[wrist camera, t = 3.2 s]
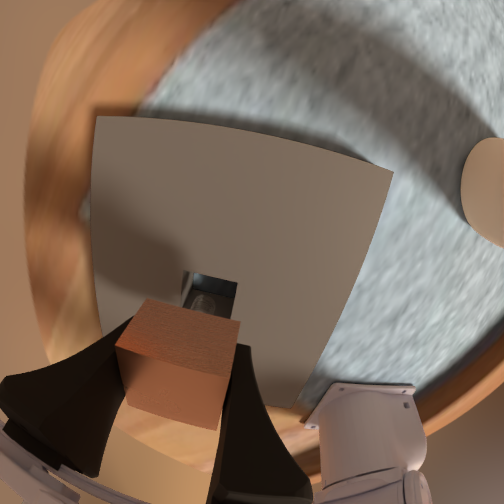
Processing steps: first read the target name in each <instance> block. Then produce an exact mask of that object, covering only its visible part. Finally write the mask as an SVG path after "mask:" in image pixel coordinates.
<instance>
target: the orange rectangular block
mask: <svg viewBox="0 0 504 504" xmlns="http://www.w3.org/2000/svg"><path fill="white" fill-rule="evenodd" d="M215 307H216V304H215V301H214V300H213V299H212V298H211V297H209V296H207V295H199V296H197V297H196V298H195V300H194V302H193V304H192V306H191V309H186V308H182V307H178V306H174V305H171V304H167V303H163V302H160V301H156V300H153V299H149V298H146V300H145V301H144V303H143V304H142V306H141V307H140V308H139V310H138V311H137V313H136V314H135V316H134V317H133V319H132V320H131V321H130V323H129V324H128V326H127V327H126V329H125V330H124V332H123V333H122V335H121V336H120V338H119V339H118V341H117V342H116V344H115V349H116V355H117V360H118V365H119V370H120V374H121V379H122V383H123V387H124V391H125V395H126V399H127V403H128V405H130V406H132V407H135V408H138V409H141V410H144V411H146V412H149V413H152V414H155V415H159V416H162V417H165V418H168V419H172V420H175V421H179V422H182V423H186V424H190V425H194V426H198V427H202V428H206V429H211V430H215V431H216V430H217V426H218V422H219V418H220V415H221V411H222V407H223V403H224V399H225V395H226V391H227V387H228V383H229V379H230V375H231V369H232V364H233V359H234V354H235V349H236V344H237V338H238V333H239V328H240V323H241V322H240V321H236V320H231V319H227V318H222V317H218V316H214V315H213V313H214V310H215Z"/></svg>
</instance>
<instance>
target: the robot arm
mask: <svg viewBox="0 0 504 504" xmlns="http://www.w3.org/2000/svg"><path fill="white" fill-rule="evenodd" d="M133 317H134V316H132V317H131V318H129V319H128V320H126V321H125V322H124V323H122V324H121V325H120V326H118V327H117V328H115V329H114V330H113V331H111V332H110V333H108V334H107V335H106V336H104V337H103V338H101V339H100V340H98V341H97V342H95V343H94V344H92V345H90V346H89V347H87V348H85V349H84V350H82V351H80V352H78V353H77V354H75V355H73V356H71V357H69V358H67V359H65V360H62V361H60V362H57V363H55V364H52V365H50V366H47V367H44V368H41V369H38V370H34V371H31V372H26V373H22V374H16V375H10V376H6V377H5V378H4V379H3V381H2V382H1V383H0V408H1V410H2V411H3V412H4V413H5V414H6V416H7V417H8V418H9V420H8V421H7V423H6V424H5V423H4V422H2V421H1V420H0V479H1V480H2V481H3V482H5V483H6V484H7V485H8V486H9V487H10V488H11V489H12V490H13V491H15V492H16V493H17V494H18V495H19V496H20V497H22V498H23V499H24V500H23V502H22V504H79V503H78V501H79V499H80V494H78V493H76V492H74V491H73V490H71V489H70V488H68V487H67V486H65V485H64V484H63V483H61V482H60V481H58V480H56V479H55V478H54V477H52V476H51V475H49V474H48V471H47V470H49V471H50V472H52V473H53V474H55V475H57V476H58V477H60V478H61V479H63V480H65V481H67V482H68V483H70V484H72V485H74V486H76V487H78V488H79V489H81V490H83V491H85V492H87V493H89V494H91V495H93V496H95V497H97V498H99V499H101V500H104V501H106V502H108V503H111V504H150V503H147V502H144V501H141V500H138V499H135V498H133V497H130V496H127V495H125V494H122V493H120V492H117V491H115V490H113V489H110V488H108V487H106V486H104V485H101V484H99V483H97V482H95V481H93V480H91V479H89V478H87V477H85V476H83V475H81V474H84V475H86V476H88V477H90V478H95V477H98V475H99V471H100V466H101V461H102V457H103V454H104V450H105V447H106V443H107V440H108V437H109V434H110V431H111V427H112V425H113V422H114V419H115V417H116V414H117V411H118V409H119V407H120V405H121V403H122V401H123V399H124V397H125V391H124V387H123V383H122V379H121V374H120V370H119V365H118V360H117V355H116V349H115V344H116V342H117V341H118V339H119V338H120V336H121V335H122V333H123V332H124V330H125V329H126V327H127V326H128V324H129V323H130V321H131V320H132V319H133ZM415 390H416V388H415V386H383V385H362V384H347V383H334V384H332V385H331V386H330V388H329V389H328V391H327V392H326V394H325V395H324V397H323V398H322V400H321V401H320V402H319V404H318V405H317V407H316V408H315V410H314V411H313V412H312V414H311V415H310V417H309V418H308V419H307V421H306V422H305V423H304V428H306V429H319V440H320V456H321V477H322V491H319V492H315V493H314V501H313V492H312V486H311V483H310V479H309V478H308V476H307V475H306V474H305V473H304V472H303V470H302V469H301V468H300V467H299V465H298V464H297V463H296V462H295V460H294V459H293V457H292V456H291V455H290V453H289V452H288V450H287V448H286V447H285V445H284V444H283V442H282V440H281V439H280V437H279V435H278V434H277V432H276V430H275V428H274V426H273V424H272V422H271V420H270V417H269V415H268V413H267V411H266V408H265V405H264V403H263V400H262V397H261V394H260V391H259V388H258V384H257V380H256V377H255V372H254V367H253V362H252V354H251V347H250V346H249V345H244V344H240V343H237V344H236V349H235V354H234V359H233V364H232V369H231V375H230V379H229V383H228V387H227V391H226V395H225V399H224V403H223V408H222V418H221V429H220V437H219V443H218V448H217V453H216V458H215V463H214V468H213V473H212V477H211V482H210V487H209V492H208V496H207V501H206V504H432V499H431V494H430V490H429V487H428V484H427V481H426V479H425V477H424V475H423V474H422V473H421V472H418V471H417V470H418V469H419V468H420V467H421V465H422V463H423V461H424V459H425V456H426V449H427V441H426V436H425V433H424V429H423V426H422V423H421V420H420V417H419V414H418V411H417V408H416V406H415V403H414V400H413V397H412V394H413V393H414V392H415ZM75 471H77V472H79V473H81V474H79V473H77V472H75Z"/></svg>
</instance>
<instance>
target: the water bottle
mask: <svg viewBox="0 0 504 504" xmlns="http://www.w3.org/2000/svg"><path fill="white" fill-rule="evenodd" d="M461 201H462V207H463V211H464V214H465V217H466V219H467V221H468V223H469V224H470V226H471V227H472V228H473V229H474V230H475V231H476V232H477V233H478V234H480V235H481V236H482V237H484V238H485V239H487V240H488V241H490V242H492V243H493V244H495V245H497V246H499V247H501V248H503V249H504V139H502V138H494V137H492V138H486V139H484V140H482V141H480V142H479V143H477V144H476V145H475V146H474V148H473V149H472V150H471V152H470V153H469V155H468V157H467V159H466V162H465V165H464V168H463V172H462V178H461Z"/></svg>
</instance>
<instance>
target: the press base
mask: <svg viewBox="0 0 504 504" xmlns="http://www.w3.org/2000/svg"><path fill="white" fill-rule="evenodd" d="M393 173H394V172H393V171H390V170H387V169H385V168H382V167H379V166H377V165H374V164H371V163H368V162H365V161H362V160H359V159H356V158H353V157H350V156H347V155H343V154H340V153H337V152H333V151H330V150H327V149H323V148H319V147H316V146H312V145H308V144H304V143H301V142H297V141H293V140H288V139H284V138H280V137H275V136H271V135H266V134H261V133H257V132H251V131H246V130H241V129H235V128H229V127H223V126H217V125H210V124H203V123H196V122H188V121H179V120H169V119H158V118H144V117H125V116H97V118H96V126H95V134H94V143H93V154H92V169H91V194H90V221H91V247H92V261H93V272H94V282H95V290H96V298H97V305H98V312H99V318H100V324H101V329H102V335H103V337H104V336H106V335H107V334H108V333H110V332H111V331H113V330H114V329H115V328H117V327H118V326H120V325H121V324H122V323H124V322H125V321H126V320H128V319H129V318H131V317H132V316H135V314H136V313H137V311H138V310H139V308H140V307H141V306H142V304H143V303H144V301H145V300H146V298H149V299H153V300H156V301H160V302H163V303H167V304H171V305H174V306H178V307H182V308H186V309H191V306H192V304H193V302H194V300H195V298H196V297H197V296H199V295H207V296H209V297H211V298H212V299H213V300H214V301H215V304H216V307H215V310H214V313H213V315H214V316H218V317H222V318H227V319H231V320H236V321H240V322H241V323H240V328H239V333H238V338H237V343H240V344H244V345H249V346H250V347H251V354H252V362H253V367H254V372H255V377H256V380H257V384H258V388H259V391H260V394H261V397H262V400H263V403H264V405H268V406H275V407H282V408H290V409H291V408H292V406H293V404H294V403H295V401H296V399H297V397H298V396H299V394H300V392H301V391H302V389H303V387H304V385H305V384H306V382H307V380H308V378H309V376H310V375H311V373H312V371H313V369H314V367H315V365H316V364H317V362H318V360H319V358H320V356H321V354H322V352H323V350H324V348H325V346H326V344H327V342H328V340H329V338H330V336H331V334H332V332H333V330H334V328H335V326H336V324H337V322H338V320H339V318H340V315H341V313H342V311H343V309H344V307H345V305H346V302H347V300H348V298H349V296H350V293H351V291H352V289H353V286H354V284H355V282H356V279H357V277H358V274H359V272H360V269H361V267H362V264H363V262H364V259H365V257H366V254H367V252H368V249H369V246H370V244H371V241H372V238H373V235H374V233H375V230H376V227H377V224H378V221H379V218H380V215H381V212H382V209H383V206H384V203H385V200H386V197H387V193H388V190H389V187H390V183H391V180H392V177H393ZM194 273H199V274H203V275H207V276H211V277H216V278H220V279H224V280H229V281H233V282H237V283H238V286H237V290H236V295H235V299H234V298H229V297H225V296H221V295H216V294H212V293H208V292H204V291H200V290H196V289H192V284H193V275H194Z"/></svg>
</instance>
